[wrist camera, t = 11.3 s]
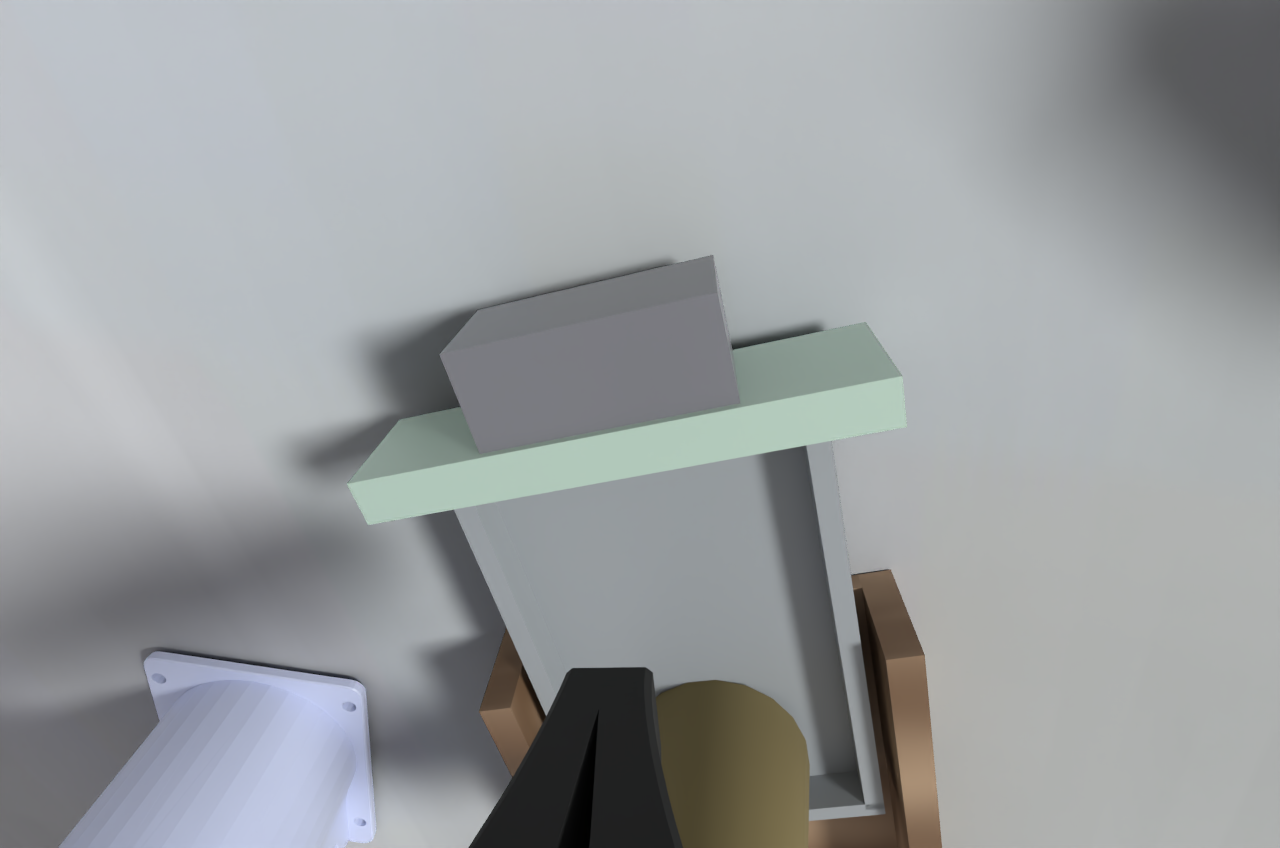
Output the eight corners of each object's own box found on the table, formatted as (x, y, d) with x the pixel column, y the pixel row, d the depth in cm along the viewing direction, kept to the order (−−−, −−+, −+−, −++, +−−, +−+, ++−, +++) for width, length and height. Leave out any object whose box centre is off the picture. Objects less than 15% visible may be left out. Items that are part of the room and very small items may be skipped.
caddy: (925, 877, 29) (953, 976, 26) (628, 899, 31) (621, 993, 28) (890, 569, 21) (924, 655, 18) (506, 626, 24) (478, 711, 20)
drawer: (913, 760, 24) (944, 856, 21) (571, 795, 26) (557, 887, 23) (854, 220, 16) (891, 256, 13) (361, 336, 18) (297, 389, 15)
